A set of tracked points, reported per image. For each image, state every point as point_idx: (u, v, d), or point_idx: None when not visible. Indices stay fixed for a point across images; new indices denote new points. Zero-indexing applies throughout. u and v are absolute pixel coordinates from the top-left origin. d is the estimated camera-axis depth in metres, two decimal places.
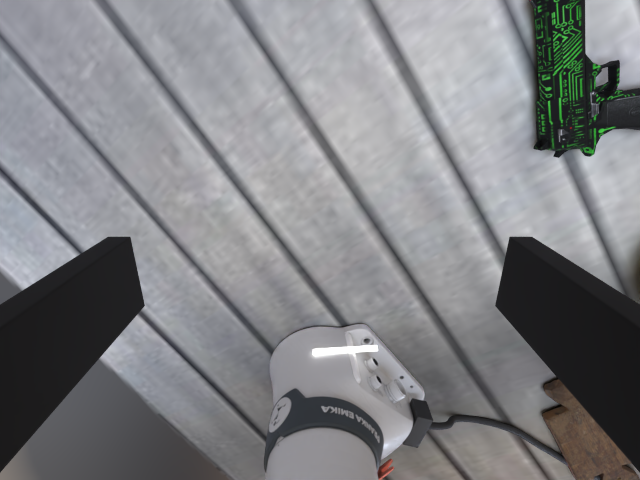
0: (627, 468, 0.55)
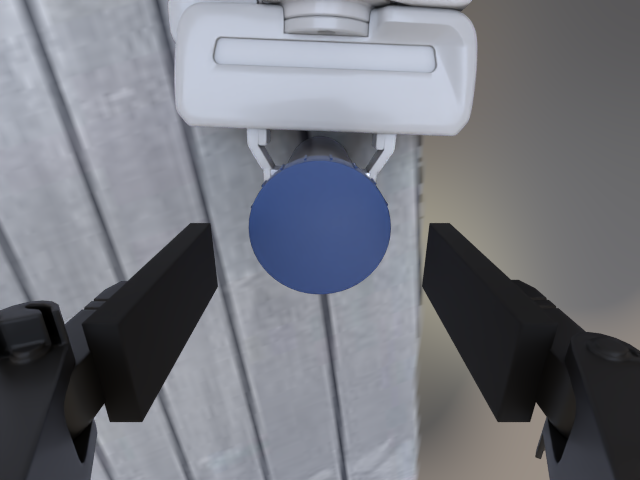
0: None
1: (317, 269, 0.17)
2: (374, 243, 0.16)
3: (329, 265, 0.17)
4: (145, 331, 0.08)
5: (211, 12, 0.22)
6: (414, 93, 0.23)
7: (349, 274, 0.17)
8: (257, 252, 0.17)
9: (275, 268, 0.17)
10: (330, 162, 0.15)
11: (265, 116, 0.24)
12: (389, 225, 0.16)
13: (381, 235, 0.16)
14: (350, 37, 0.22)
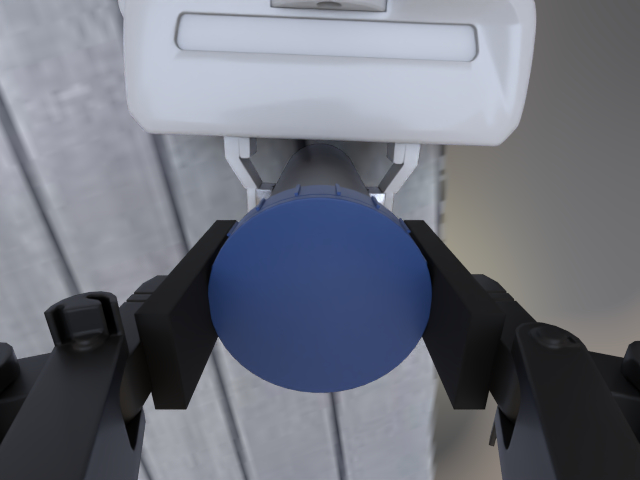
0: None
1: (316, 359, 0.11)
2: (405, 322, 0.11)
3: (335, 353, 0.11)
4: (188, 322, 0.09)
5: None
6: (446, 89, 0.17)
7: (365, 366, 0.11)
8: (223, 335, 0.11)
9: (251, 357, 0.11)
10: (337, 200, 0.09)
11: (247, 120, 0.18)
12: (430, 296, 0.10)
13: (417, 311, 0.10)
14: (362, 13, 0.16)
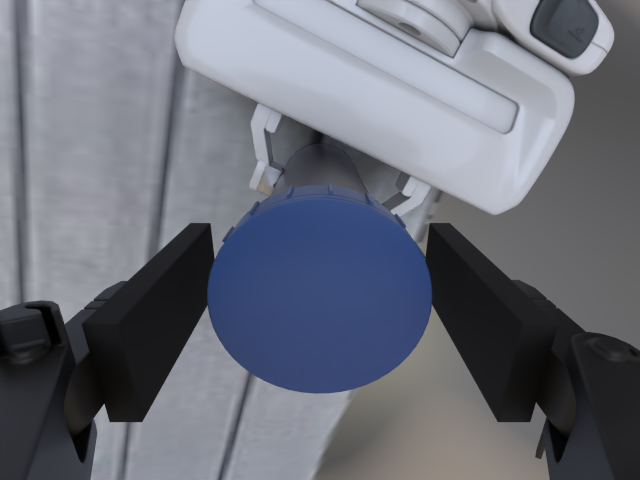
0: None
1: (383, 316, 0.10)
2: (350, 226, 0.09)
3: (379, 298, 0.10)
4: (145, 331, 0.08)
5: None
6: (474, 149, 0.19)
7: (402, 270, 0.10)
8: (340, 388, 0.11)
9: (370, 370, 0.11)
10: (209, 282, 0.10)
11: (288, 98, 0.18)
12: (320, 199, 0.09)
13: (337, 214, 0.09)
14: (432, 50, 0.17)
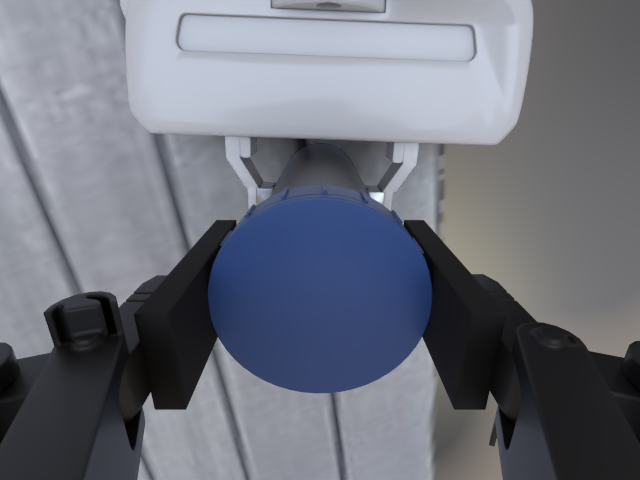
0: None
1: (384, 293, 0.10)
2: (312, 221, 0.09)
3: (372, 278, 0.10)
4: (188, 322, 0.09)
5: None
6: (445, 89, 0.17)
7: (381, 243, 0.10)
8: (376, 375, 0.11)
9: (397, 349, 0.11)
10: (212, 320, 0.10)
11: (248, 120, 0.18)
12: (273, 208, 0.09)
13: (294, 215, 0.09)
14: (361, 14, 0.16)
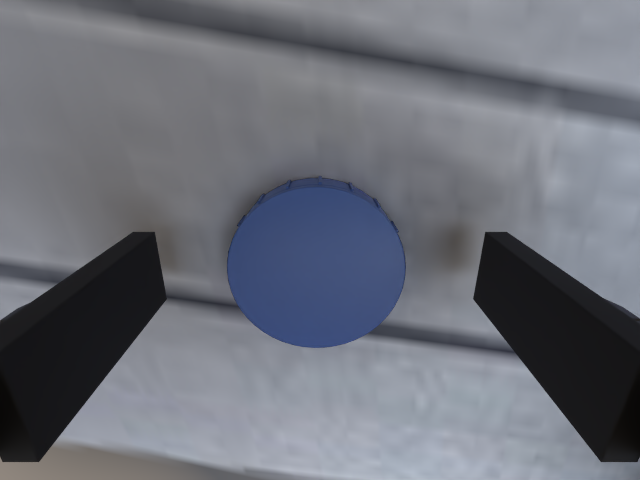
0: None
1: (367, 264, 0.13)
2: (309, 206, 0.12)
3: (357, 251, 0.13)
4: (45, 359, 0.07)
5: None
6: None
7: (364, 223, 0.12)
8: (362, 332, 0.14)
9: (378, 310, 0.14)
10: (230, 286, 0.13)
11: None
12: (279, 195, 0.12)
13: (296, 201, 0.12)
14: None
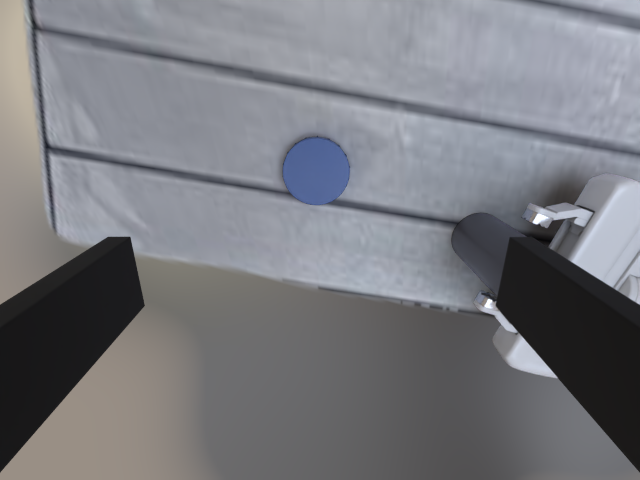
0: None
1: (335, 168, 0.34)
2: (313, 145, 0.34)
3: (331, 163, 0.34)
4: None
5: None
6: None
7: (333, 151, 0.34)
8: (334, 197, 0.35)
9: (340, 187, 0.35)
10: (283, 177, 0.35)
11: (590, 245, 0.31)
12: (303, 141, 0.34)
13: (309, 143, 0.34)
14: None
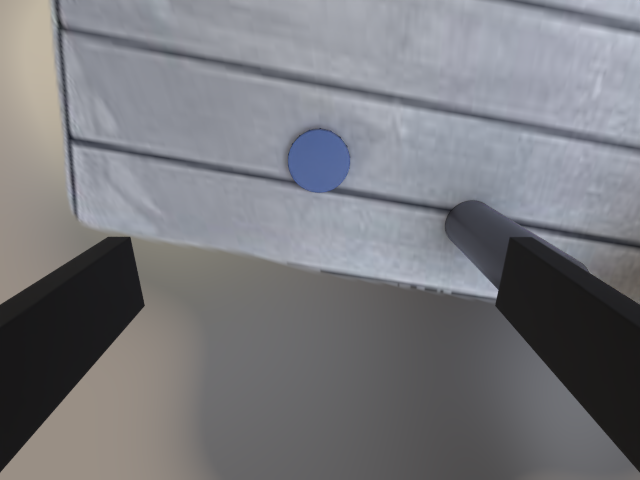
0: None
1: (336, 158, 0.37)
2: (316, 136, 0.36)
3: (333, 153, 0.37)
4: None
5: None
6: None
7: (334, 142, 0.37)
8: (335, 185, 0.38)
9: (341, 176, 0.38)
10: None
11: None
12: (306, 133, 0.36)
13: (312, 134, 0.36)
14: None
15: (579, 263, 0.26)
